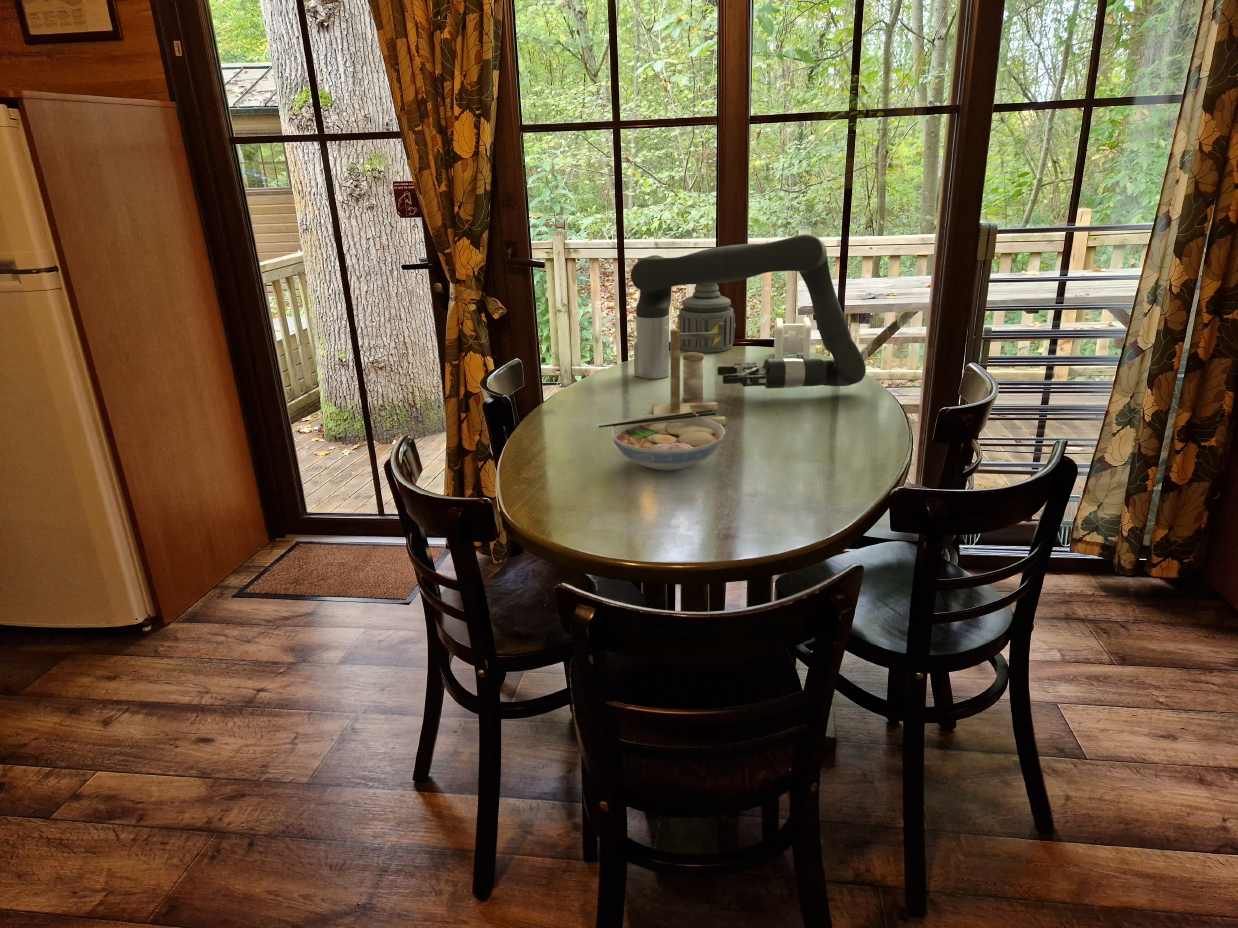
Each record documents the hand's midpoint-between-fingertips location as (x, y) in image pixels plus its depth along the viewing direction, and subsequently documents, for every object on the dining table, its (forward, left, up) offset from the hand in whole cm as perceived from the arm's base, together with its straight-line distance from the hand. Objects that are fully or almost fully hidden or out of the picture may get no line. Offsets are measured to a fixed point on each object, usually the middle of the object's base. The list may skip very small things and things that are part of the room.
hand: (720, 375), depth 198 cm
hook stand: (-2, -17, -6) cm, 18 cm away
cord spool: (-6, -3, -7) cm, 9 cm away
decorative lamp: (-27, +56, -7) cm, 62 cm away
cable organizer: (+3, +51, -7) cm, 51 cm away
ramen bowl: (+7, -48, -7) cm, 49 cm away
